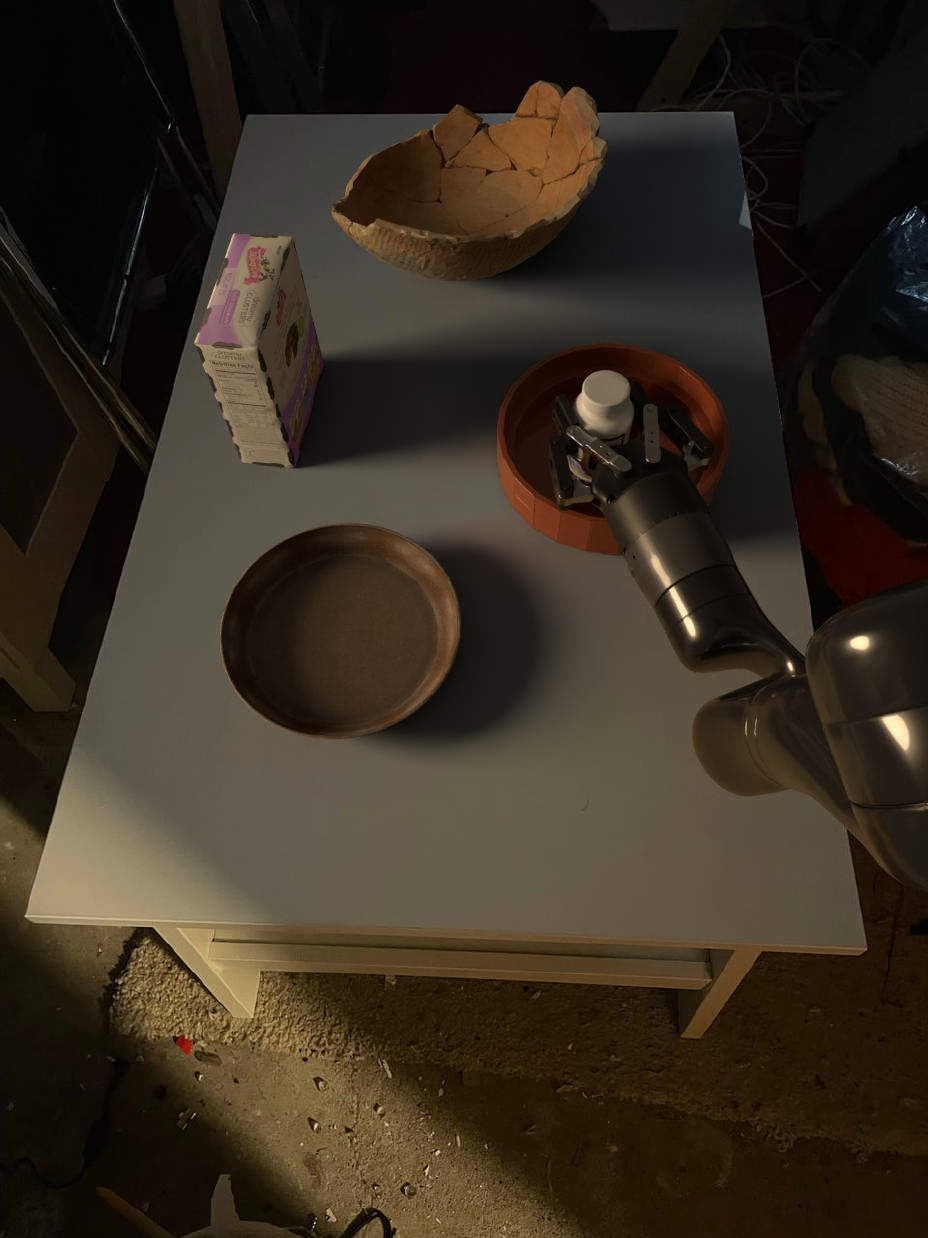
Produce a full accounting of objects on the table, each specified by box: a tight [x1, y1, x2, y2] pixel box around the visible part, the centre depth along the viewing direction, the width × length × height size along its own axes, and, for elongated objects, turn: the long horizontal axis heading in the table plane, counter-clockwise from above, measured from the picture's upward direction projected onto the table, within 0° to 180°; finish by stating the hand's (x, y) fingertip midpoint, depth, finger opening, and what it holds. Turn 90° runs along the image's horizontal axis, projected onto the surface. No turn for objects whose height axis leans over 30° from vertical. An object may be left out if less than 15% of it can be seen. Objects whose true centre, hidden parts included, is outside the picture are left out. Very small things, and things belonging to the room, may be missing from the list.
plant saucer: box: [219, 522, 462, 740], centre depth 77 cm, size 21×21×3 cm
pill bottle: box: [567, 370, 634, 482], centre depth 78 cm, size 5×5×10 cm
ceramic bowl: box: [330, 79, 610, 282], centre depth 97 cm, size 30×27×15 cm
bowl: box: [496, 342, 731, 555], centre depth 85 cm, size 21×21×6 cm
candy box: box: [193, 232, 325, 469], centre depth 84 cm, size 14×6×16 cm, turn 172°
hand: (591, 393), depth 78 cm, fingers closed on pill bottle, 5 cm apart
